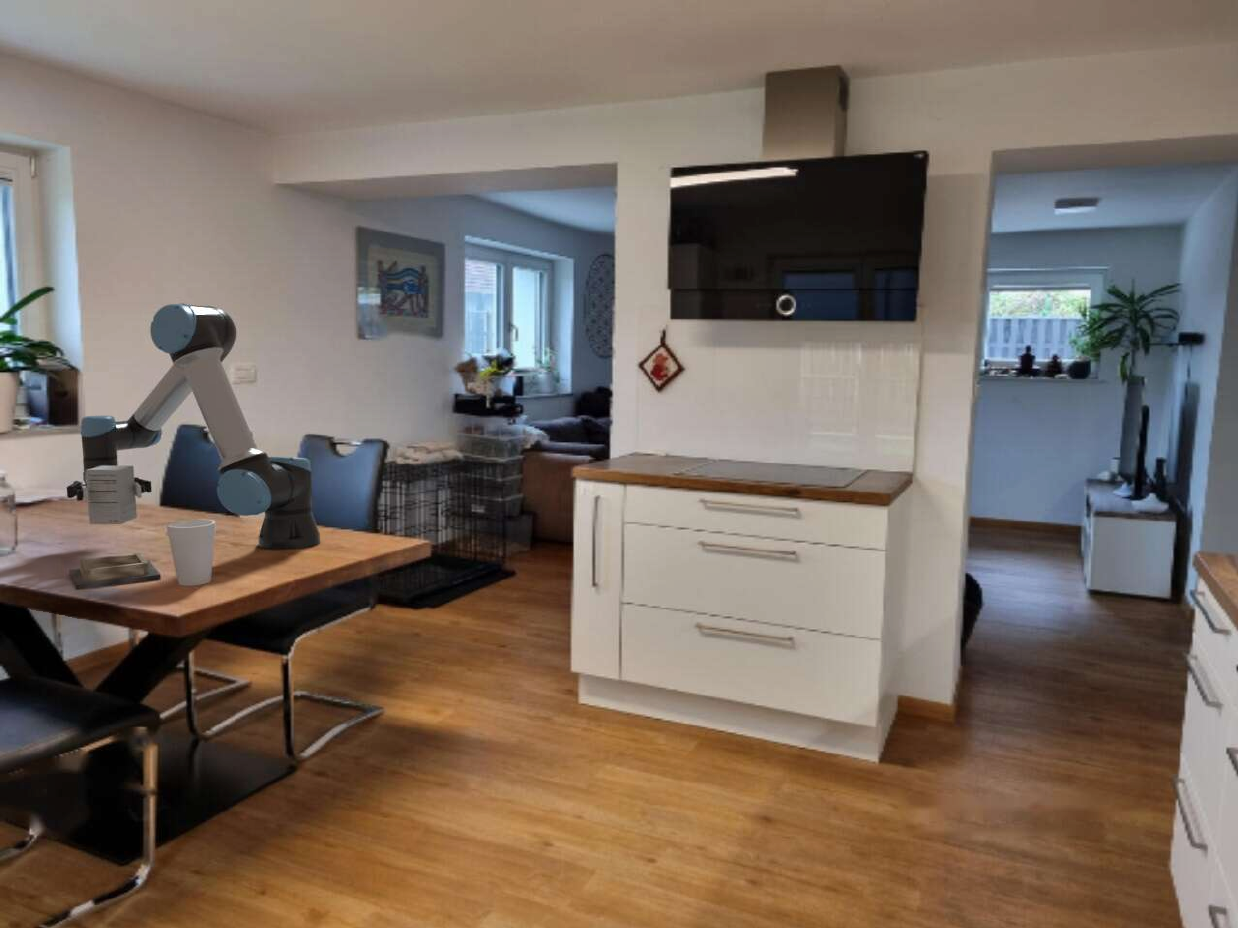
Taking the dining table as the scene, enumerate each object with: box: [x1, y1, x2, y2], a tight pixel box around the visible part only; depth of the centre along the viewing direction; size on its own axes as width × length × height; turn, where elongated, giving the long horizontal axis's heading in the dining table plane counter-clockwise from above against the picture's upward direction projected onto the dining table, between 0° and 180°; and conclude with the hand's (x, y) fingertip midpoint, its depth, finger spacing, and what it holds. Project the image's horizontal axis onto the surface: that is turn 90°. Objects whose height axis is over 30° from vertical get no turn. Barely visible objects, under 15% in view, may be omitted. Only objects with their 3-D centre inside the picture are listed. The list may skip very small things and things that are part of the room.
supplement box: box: [86, 465, 138, 525], centre depth 199 cm, size 7×7×13 cm
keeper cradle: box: [68, 552, 162, 591], centre depth 192 cm, size 16×16×4 cm
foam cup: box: [166, 518, 217, 587], centre depth 188 cm, size 10×9×13 cm
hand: (113, 493), depth 196 cm, fingers closed on supplement box, 10 cm apart
